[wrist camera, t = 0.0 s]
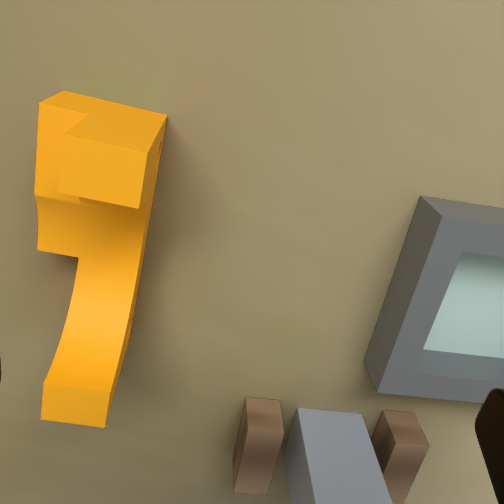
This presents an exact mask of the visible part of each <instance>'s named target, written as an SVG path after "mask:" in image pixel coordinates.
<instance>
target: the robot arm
mask: <svg viewBox="0 0 504 504" xmlns="http://www.w3.org/2000/svg"><path fill="white" fill-rule="evenodd" d="M0 381H1V360H0ZM475 432H476V435H477V438H478V442H479V445H480V448H481V451H482V454H483V457H484V460H485V463H486V466H487V470H488V473H489V476H490V479H491V482H492V485H493V488H494V491H495V495H496V498H497V500H498V503H499V504H504V389H503V388H494V389H492V390H491V391H490V392H489V394H488V395H487V397H486V399H485V401H484V403H483V405H482V407H481V409H480V411H479V413H478V415H477V417H476V420H475Z"/></svg>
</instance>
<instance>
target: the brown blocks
mask: <svg viewBox="0 0 504 504" xmlns="http://www.w3.org/2000/svg"><path fill="white" fill-rule="evenodd" d="M283 437H284V427H283V420H282V413H281V406H280V400H271V399H261V398H250V397H246V400H245V405H244V409H243V414H242V418H241V423H240V427H239V432H238V436H237V441H236V445H235V450H234V455H233V485H234V493H243V494H257V495H268V491H269V487H270V484H271V480H272V477H273V473H274V469H275V466H276V462H277V459H278V455H279V451H280V448H281V444H282V440H283ZM371 443H372V446H373V449H374V451H375V454H376V457H377V460H378V463H379V466H380V469H381V472H382V475H383V477H384V480H385V483H386V486H387V489H388V492H389V495H390V498H391V501H392V503H393V504H403V503H404V500H405V498H406V496H407V494H408V492H409V490H410V487H411V485H412V483H413V481H414V479H415V477H416V474H417V472H418V470H419V468H420V466H421V464H422V461H423V459H424V457H425V455H426V453H427V451H428V448H429V446H430V445H429V443H428V441H427V439H426V437H425V435H424V433H423V431H422V429H421V427H420V424H419V422H418V420H417V418H416V416H415V414H414V413H409V412H398V411H388V410H383V411H382V414H381V416H380V419H379V421H378V424H377V427H376V429H375V432H374V434H373V437H372V439H371Z"/></svg>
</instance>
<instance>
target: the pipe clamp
mask: <svg viewBox="0 0 504 504" xmlns="http://www.w3.org/2000/svg"><path fill="white" fill-rule="evenodd" d="M166 120H167V115H164V114H160V113H156V112H152V111H148V110H143V109H139V108H135V107H131V106H126V105H122V104H118V103H114V102H110V101H105V100H101V99H97V98H93V97H89V96H84V95H80V94H76V93H72V92H68V91H62V92H60V93H58V94H56V95H54V96H52V97H50V98H48V99H46V100H44V101H42V102H40V103H39V119H38V137H37V154H36V172H35V190H34V194H35V198H36V203H37V210H38V247H37V250H40V251H46V252H51V253H56V254H62V255H67V256H73V257H78V258H79V260H78V267H77V273H76V279H75V284H74V289H73V294H72V298H71V303H70V307H69V311H68V315H67V319H66V322H65V326H64V330H63V333H62V336H61V339H60V343H59V346H58V349H57V351H56V354H55V357H54V360H53V362H52V365H51V368H50V370H49V372H48V375H47V377H46V379H45V381H44V384H43V397H42V410H41V419H42V420H49V421H57V422H65V423H72V424H80V425H87V426H95V427H103V428H105V425H106V421H107V418H108V414H109V410H110V407H111V403H112V400H113V396H114V393H115V389H116V385H117V382H118V378H119V375H120V371H121V368H122V364H123V360H124V357H125V353H126V350H127V346H128V343H129V339H130V334H131V328H132V322H133V316H134V310H135V305H136V299H137V293H138V287H139V281H140V275H141V269H142V263H143V257H144V251H145V245H146V239H147V233H148V227H149V221H150V215H151V209H152V203H153V197H154V192H155V186H156V180H157V174H158V168H159V162H160V156H161V150H162V144H163V138H164V132H165V126H166Z"/></svg>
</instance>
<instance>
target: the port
mask: <svg viewBox="0 0 504 504" xmlns="http://www.w3.org/2000/svg"><path fill="white" fill-rule="evenodd" d="M364 362H365V365H366V367H367V370H368V372H369V375H370V377H371V380H372V382H373V384H374V387H375V389H376V392H377V393H383V394H393V395H403V396H413V397H423V398H434V399H444V400H454V401H464V402H474V403H484V401H485V399H486V397H487V395H488V394H489V392H490V391H491V390H492V389H494V388H503V389H504V209H503V208H496V207H490V206H483V205H477V204H470V203H464V202H457V201H451V200H444V199H438V198H431V197H425V196H420V199H419V202H418V204H417V207H416V210H415V213H414V216H413V219H412V222H411V225H410V228H409V231H408V234H407V236H406V239H405V242H404V245H403V248H402V251H401V254H400V257H399V260H398V263H397V266H396V269H395V271H394V274H393V277H392V280H391V283H390V286H389V289H388V292H387V295H386V298H385V301H384V303H383V306H382V309H381V312H380V315H379V318H378V321H377V324H376V327H375V330H374V333H373V335H372V338H371V341H370V344H369V347H368V350H367V353H366V356H365V359H364Z"/></svg>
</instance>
